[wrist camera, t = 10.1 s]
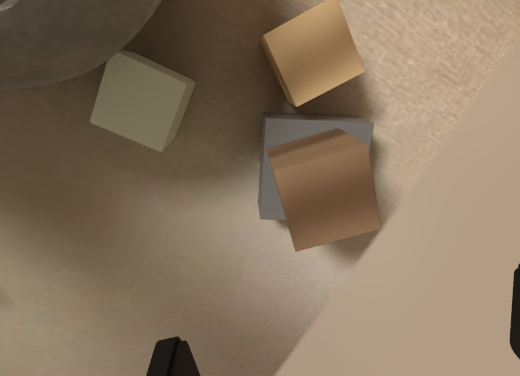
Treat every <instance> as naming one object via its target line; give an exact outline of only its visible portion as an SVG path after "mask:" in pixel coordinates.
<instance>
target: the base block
mask: <svg viewBox="0 0 520 376" xmlns="http://www.w3.org/2000/svg"><path fill="white" fill-rule="evenodd" d="M373 126H374V123H372V122H370V121H367V120H365V119H362V118H360V117H355V116H333V115H311V114H289V113H267V112H263V119H262V139H261V158H260V177H259V197H258V204H259V212H260V219H271V220H286V217H285V214H284V210H283V206H282V203H281V199H280V195H279V192H278V188H277V185H276V181H275V177H274V174H273V170H272V167H271V163H270V159H269V156H268V152H267V148H269V147H273V146H276V145H280V144H284V143H287V142H291V141H294V140H298V139H301V138H305V137H308V136H312V135H315V134H319V133H322V132H326V131H329V130H333V129H336V128H339V129H341V130H343V131H345V132H346V133H348V134H350V135H351V136H353V137H355V138H357V139H358V140H360V141H362V142H363V143H365V144H367V147H368V153H369V150H370V144H371V138H372V132H373Z"/></svg>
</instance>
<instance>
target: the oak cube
mask: <svg viewBox="0 0 520 376" xmlns="http://www.w3.org/2000/svg"><path fill="white" fill-rule="evenodd" d="M260 43H261V46H262V48H263V50H264V52H265V54H266V56H267V58H268V61H269V63H270V65H271V67H272V69H273V71H274V73H275V76H276V78H277V80H278V82H279V84H280V86H281V88H282V91H283V93H284V95H285V97H286V99H287V101H288V102H290V103H291V104H293V105H294V106H296V107H298V106H300V105H302V104H304V103H306V102H307V101H309V100H311V99H313V98H315V97H317V96H319V95H321V94H323V93H325V92H327V91H329V90H330V89H332V88H334V87H336V86H338V85H340V84H342V83H344V82H346V81H348V80H350V79H352V78H353V77H355V76H357V75H359V74H361V73H363V72H365V71H364V69H363V66H362V63H361V61H360V58H359V55H358V53H357V50H356V47H355V44H354V42H353V39H352V36H351V34H350V31H349V28H348V26H347V23H346V20H345V18H344V15H343V12H342V10H341V7H340V4H339V2H338V0H326V1H324V2H322V3H320V4H318V5H317V6H315V7H313V8H311V9H309V10H308V11H306V12H304V13H302V14H300V15H299V16H297V17H295V18H293V19H291V20H290V21H288V22H286V23H284V24H282V25H281V26H279V27H277V28H275V29H273V30H272V31H270V32H268V33H266V34H264V35H263V37H262V38H261V40H260Z"/></svg>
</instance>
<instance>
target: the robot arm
mask: <svg viewBox="0 0 520 376" xmlns="http://www.w3.org/2000/svg"><path fill="white" fill-rule="evenodd" d="M510 345H511V348H512V350H513V351H514V353H515V354H516V355H517V357H518V358H519V359H520V264H519V266H518V269H516V270H515V272H514V282H513V298H512V313H511V329H510ZM146 376H200V374H199V371H198V368H197V366H196V363H195V361H194V358H193V355H192V353H191V350H190V347H189V345H188V342H187V341H186V340H185V341H181V339H180V338H179V337H173V338H168V339H164V340H159V341H158V342H157V343H156V345H155V349H154V352H153V355H152V359H151V362H150V365H149V368H148V372H147V375H146Z"/></svg>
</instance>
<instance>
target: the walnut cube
mask: <svg viewBox="0 0 520 376" xmlns="http://www.w3.org/2000/svg"><path fill="white" fill-rule="evenodd" d="M267 152H268V156H269V159H270V163H271V167H272V170H273V174H274V177H275V181H276V185H277V188H278V192H279V195H280V199H281V203H282V206H283V210H284V214H285V217H286V220H287V224H288V227H289V231H290V234H291V238H292V241H293V244H294V248H295V251H296V252H297V251H300V250H304V249H308V248H311V247H315V246H319V245H323V244H326V243H330V242H334V241H338V240H341V239H345V238H349V237H353V236H356V235H360V234H364V233H367V232H371V231H375V230H379V229H381V224H380V218H379V212H378V206H377V200H376V194H375V188H374V182H373V176H372V170H371V164H370V159H369V153H368V147H367V144H365V143H363V142H362V141H360V140H358V139H357V138H355V137H353V136H351V135H350V134H348V133H346V132H345V131H343V130H341V129H339V128H336V129H333V130H329V131H326V132H322V133H319V134H315V135H312V136H308V137H305V138H301V139H298V140H294V141H291V142H287V143H284V144H280V145H276V146H273V147H269V148H267Z"/></svg>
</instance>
